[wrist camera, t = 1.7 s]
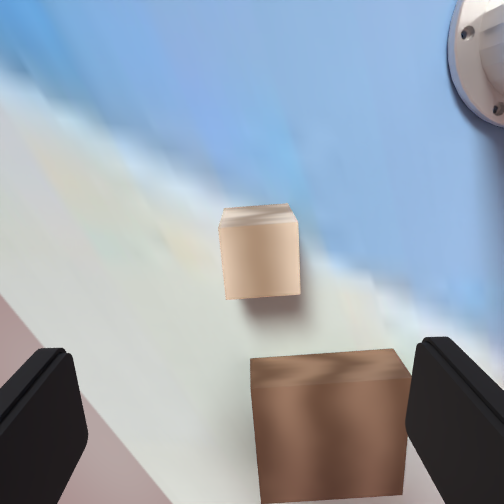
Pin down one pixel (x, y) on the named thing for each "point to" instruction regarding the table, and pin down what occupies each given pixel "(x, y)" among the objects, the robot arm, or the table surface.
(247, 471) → the table surface
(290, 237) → the maple block
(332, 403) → the walnut base
